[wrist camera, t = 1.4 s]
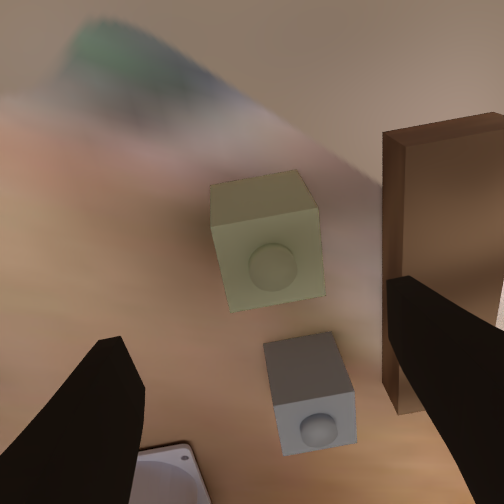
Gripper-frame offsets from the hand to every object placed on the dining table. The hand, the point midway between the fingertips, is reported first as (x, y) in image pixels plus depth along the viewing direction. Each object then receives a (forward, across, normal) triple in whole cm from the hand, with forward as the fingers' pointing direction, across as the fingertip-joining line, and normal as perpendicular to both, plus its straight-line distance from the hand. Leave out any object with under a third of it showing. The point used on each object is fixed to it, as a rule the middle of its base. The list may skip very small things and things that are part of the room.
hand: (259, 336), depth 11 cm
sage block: (+10, -1, +1) cm, 10 cm away
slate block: (+10, -2, +11) cm, 15 cm away
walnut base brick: (+9, -9, +6) cm, 15 cm away
